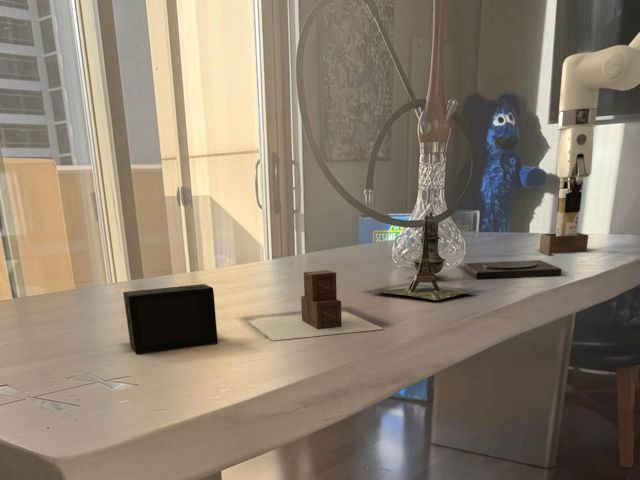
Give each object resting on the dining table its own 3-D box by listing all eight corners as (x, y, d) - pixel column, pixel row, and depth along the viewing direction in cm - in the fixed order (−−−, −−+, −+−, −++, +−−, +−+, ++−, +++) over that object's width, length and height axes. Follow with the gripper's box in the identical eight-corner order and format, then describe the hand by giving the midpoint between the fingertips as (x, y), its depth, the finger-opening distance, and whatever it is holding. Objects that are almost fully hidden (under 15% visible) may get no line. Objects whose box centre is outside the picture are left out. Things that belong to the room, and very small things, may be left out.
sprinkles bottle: (574, 252, 155) (580, 188, 150) (552, 253, 157) (558, 189, 152) (576, 250, 159) (582, 187, 154) (555, 251, 161) (560, 188, 156)
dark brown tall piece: (406, 280, 131) (407, 212, 126) (433, 276, 133) (435, 210, 128) (423, 283, 126) (425, 212, 121) (451, 280, 128) (454, 210, 123)
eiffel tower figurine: (367, 294, 117) (366, 209, 111) (408, 287, 122) (410, 206, 117) (436, 303, 106) (439, 209, 100) (478, 294, 111) (483, 205, 106)
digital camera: (207, 336, 91) (202, 282, 88) (218, 344, 86) (213, 286, 84) (129, 346, 88) (121, 290, 85) (136, 354, 83) (128, 295, 81)
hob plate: (539, 266, 139) (540, 258, 138) (560, 275, 125) (561, 267, 125) (463, 269, 141) (464, 261, 140) (476, 279, 127) (476, 270, 126)
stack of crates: (247, 321, 100) (243, 272, 97) (345, 311, 103) (344, 264, 100) (272, 341, 86) (269, 284, 84) (384, 329, 90) (384, 274, 87)
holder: (575, 250, 162) (577, 232, 160) (586, 253, 154) (588, 235, 153) (539, 252, 163) (540, 234, 161) (548, 255, 155) (550, 236, 154)
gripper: (608, 115, 140) (598, 212, 147) (582, 122, 155) (574, 209, 162) (570, 118, 140) (561, 214, 147) (548, 125, 156) (541, 211, 163)
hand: (568, 211), depth 155 cm, fingers closed on sprinkles bottle, 4 cm apart
